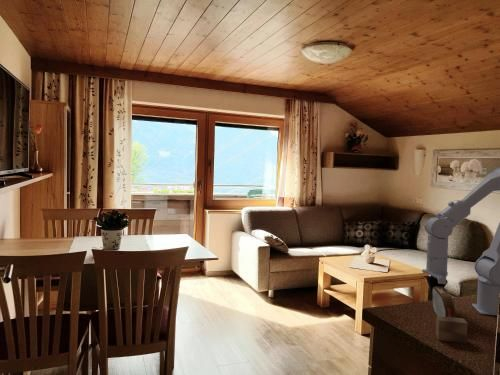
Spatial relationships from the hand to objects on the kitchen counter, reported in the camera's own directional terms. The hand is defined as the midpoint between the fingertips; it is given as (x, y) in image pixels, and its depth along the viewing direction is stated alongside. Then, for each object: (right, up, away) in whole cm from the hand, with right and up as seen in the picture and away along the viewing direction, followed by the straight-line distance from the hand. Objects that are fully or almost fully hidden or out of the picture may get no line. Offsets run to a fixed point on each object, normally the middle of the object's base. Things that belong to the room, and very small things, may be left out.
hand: (435, 300), depth 116 cm
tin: (-2, -3, -9) cm, 9 cm away
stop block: (-7, -3, -21) cm, 23 cm away
